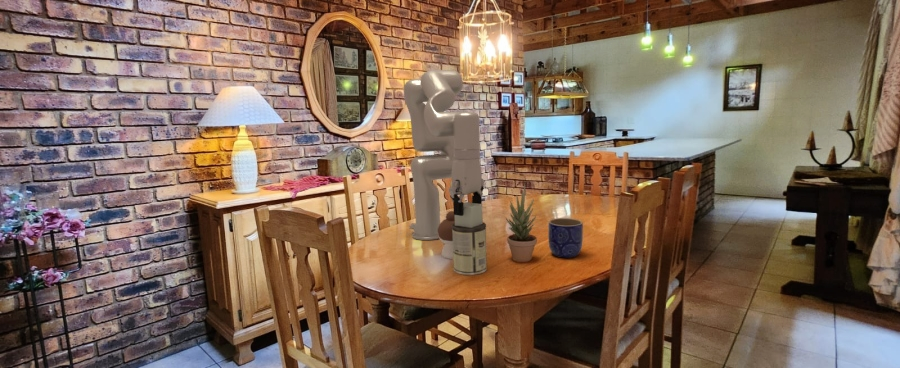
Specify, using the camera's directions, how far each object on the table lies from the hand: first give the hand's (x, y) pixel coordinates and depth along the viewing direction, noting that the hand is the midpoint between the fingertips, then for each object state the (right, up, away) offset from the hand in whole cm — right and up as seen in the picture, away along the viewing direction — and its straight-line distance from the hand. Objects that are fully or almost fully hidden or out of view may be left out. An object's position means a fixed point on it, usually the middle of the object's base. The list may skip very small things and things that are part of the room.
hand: (468, 211), depth 136 cm
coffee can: (+1, -18, +2) cm, 18 cm away
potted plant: (+18, -16, +11) cm, 26 cm away
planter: (+33, -15, +13) cm, 38 cm away
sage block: (0, -4, 0) cm, 4 cm away
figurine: (-4, -16, +17) cm, 24 cm away
